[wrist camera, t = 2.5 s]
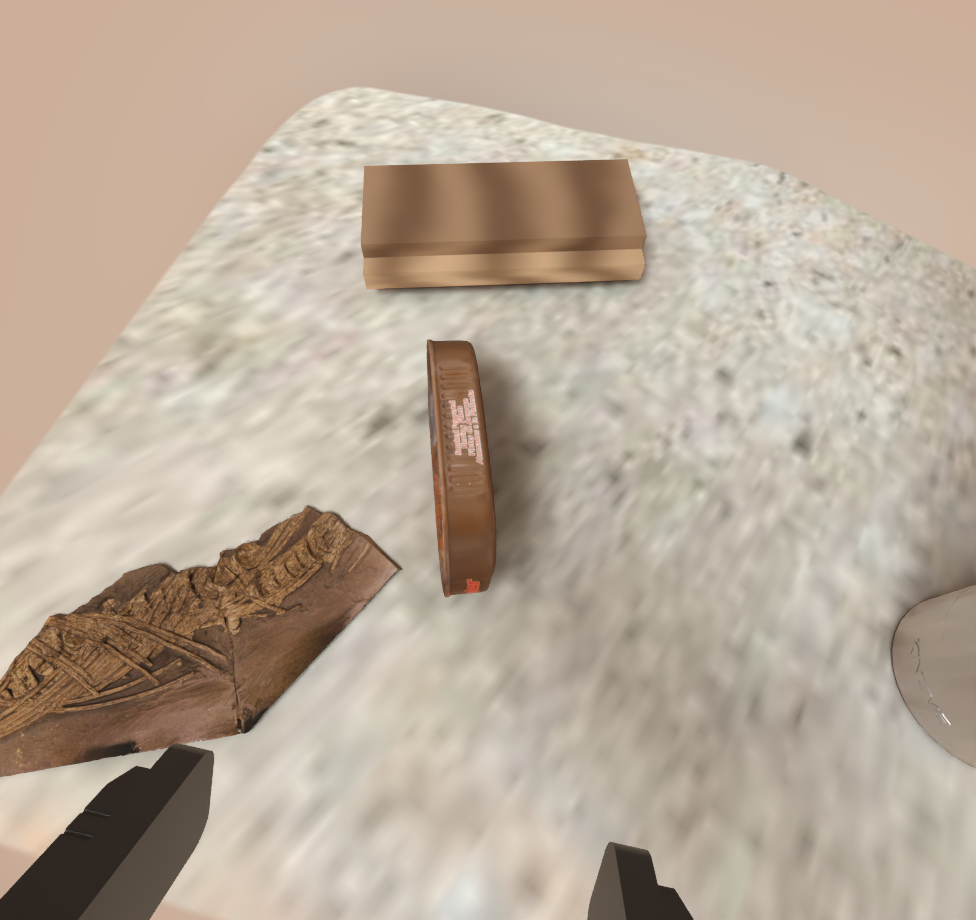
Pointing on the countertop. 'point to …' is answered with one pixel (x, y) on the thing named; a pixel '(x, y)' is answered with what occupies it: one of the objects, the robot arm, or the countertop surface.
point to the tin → (460, 469)
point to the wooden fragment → (185, 647)
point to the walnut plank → (500, 224)
